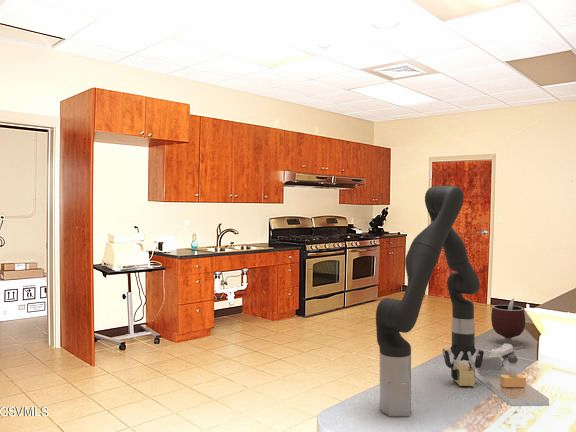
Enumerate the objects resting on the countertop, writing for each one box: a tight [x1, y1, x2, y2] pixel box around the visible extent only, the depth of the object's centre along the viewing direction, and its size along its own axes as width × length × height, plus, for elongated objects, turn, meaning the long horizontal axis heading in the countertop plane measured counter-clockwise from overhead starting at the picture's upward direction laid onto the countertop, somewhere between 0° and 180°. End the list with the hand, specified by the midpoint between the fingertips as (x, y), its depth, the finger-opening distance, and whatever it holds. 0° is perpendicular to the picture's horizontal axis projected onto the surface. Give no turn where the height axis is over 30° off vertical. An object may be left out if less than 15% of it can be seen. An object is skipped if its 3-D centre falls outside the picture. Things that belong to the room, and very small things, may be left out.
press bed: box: [475, 356, 550, 406], centre depth 159 cm, size 30×12×6 cm, turn 1°
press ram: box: [500, 353, 527, 387], centre depth 154 cm, size 3×7×10 cm, turn 91°
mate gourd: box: [490, 298, 526, 350], centre depth 211 cm, size 16×14×20 cm
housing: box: [454, 363, 476, 387], centre depth 162 cm, size 8×5×5 cm, turn 178°
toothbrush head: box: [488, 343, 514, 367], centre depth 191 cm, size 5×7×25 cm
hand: (463, 379), depth 162 cm, fingers closed on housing, 5 cm apart
